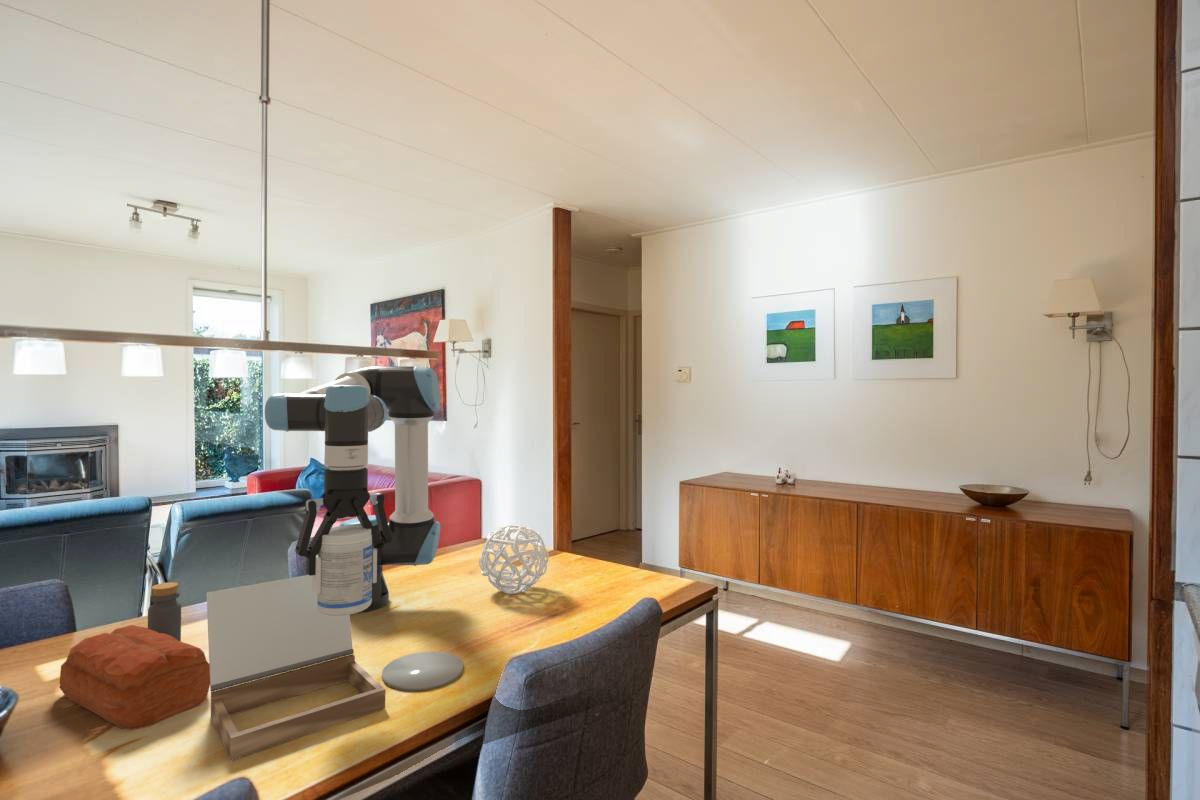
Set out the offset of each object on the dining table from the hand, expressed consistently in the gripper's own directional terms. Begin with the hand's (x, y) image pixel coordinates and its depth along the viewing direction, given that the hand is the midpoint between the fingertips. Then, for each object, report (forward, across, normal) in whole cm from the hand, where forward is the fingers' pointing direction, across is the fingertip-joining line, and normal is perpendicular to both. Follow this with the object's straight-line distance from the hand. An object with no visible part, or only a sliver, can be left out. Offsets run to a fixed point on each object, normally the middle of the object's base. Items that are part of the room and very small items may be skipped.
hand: (345, 586), depth 113 cm
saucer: (+21, +16, +1) cm, 26 cm away
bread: (+21, -30, +24) cm, 44 cm away
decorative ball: (+22, +58, +33) cm, 70 cm away
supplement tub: (+4, 0, 0) cm, 4 cm away
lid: (+8, -8, +9) cm, 15 cm away
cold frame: (+21, -8, -1) cm, 22 cm away
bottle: (+21, -24, +43) cm, 53 cm away
